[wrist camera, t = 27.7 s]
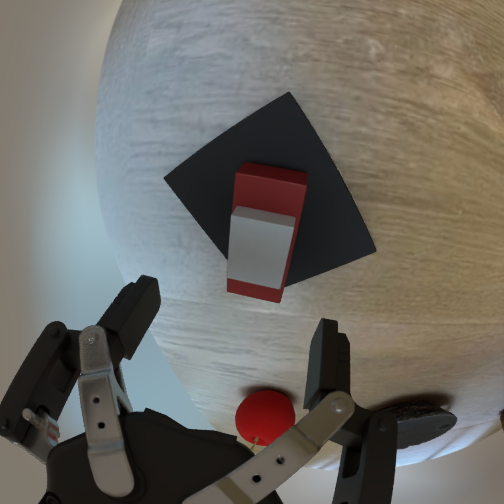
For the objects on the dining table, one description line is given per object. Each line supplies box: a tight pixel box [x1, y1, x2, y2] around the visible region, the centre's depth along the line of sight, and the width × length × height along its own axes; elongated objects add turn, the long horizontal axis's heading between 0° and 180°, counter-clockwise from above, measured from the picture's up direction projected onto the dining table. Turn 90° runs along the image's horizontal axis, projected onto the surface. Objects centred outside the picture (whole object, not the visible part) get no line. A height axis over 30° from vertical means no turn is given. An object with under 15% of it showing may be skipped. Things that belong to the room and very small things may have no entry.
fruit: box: [235, 390, 295, 451], centre depth 36 cm, size 9×9×10 cm
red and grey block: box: [227, 162, 308, 303], centre depth 20 cm, size 5×5×10 cm
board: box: [383, 400, 457, 450], centre depth 36 cm, size 22×22×5 cm
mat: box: [164, 92, 376, 287], centre depth 21 cm, size 14×12×1 cm
